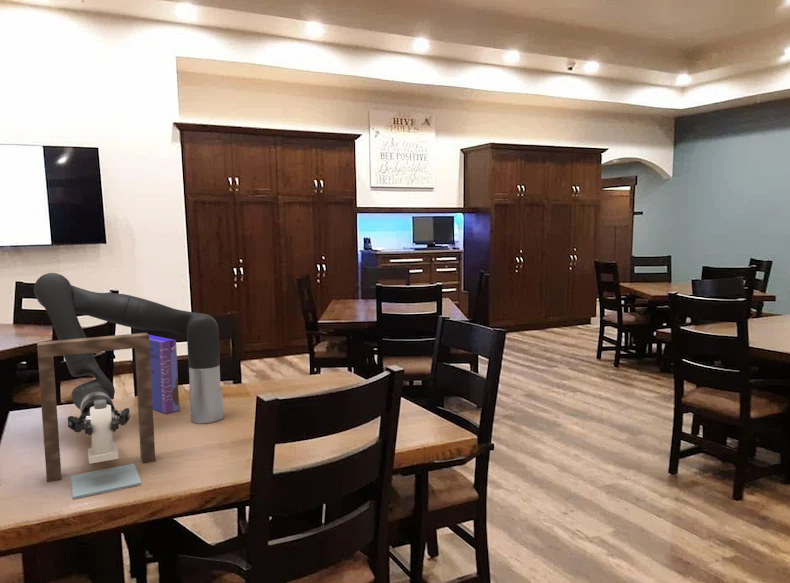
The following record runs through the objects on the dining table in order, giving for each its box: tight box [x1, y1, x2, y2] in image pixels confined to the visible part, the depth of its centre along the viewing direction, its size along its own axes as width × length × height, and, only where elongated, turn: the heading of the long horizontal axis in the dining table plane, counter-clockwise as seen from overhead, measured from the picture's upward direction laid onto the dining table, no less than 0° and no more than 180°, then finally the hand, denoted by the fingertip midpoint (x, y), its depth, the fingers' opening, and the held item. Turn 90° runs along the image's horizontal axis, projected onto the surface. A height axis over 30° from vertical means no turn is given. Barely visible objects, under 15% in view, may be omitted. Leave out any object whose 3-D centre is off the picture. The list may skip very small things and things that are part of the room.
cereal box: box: [149, 334, 180, 415], centre depth 191 cm, size 17×5×24 cm, turn 52°
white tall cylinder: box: [87, 399, 119, 465], centre depth 134 cm, size 6×6×14 cm
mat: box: [70, 463, 142, 500], centre depth 135 cm, size 14×13×1 cm
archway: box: [36, 332, 156, 483], centre depth 141 cm, size 24×4×33 cm, turn 121°
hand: (102, 429), depth 131 cm, fingers closed on white tall cylinder, 4 cm apart
